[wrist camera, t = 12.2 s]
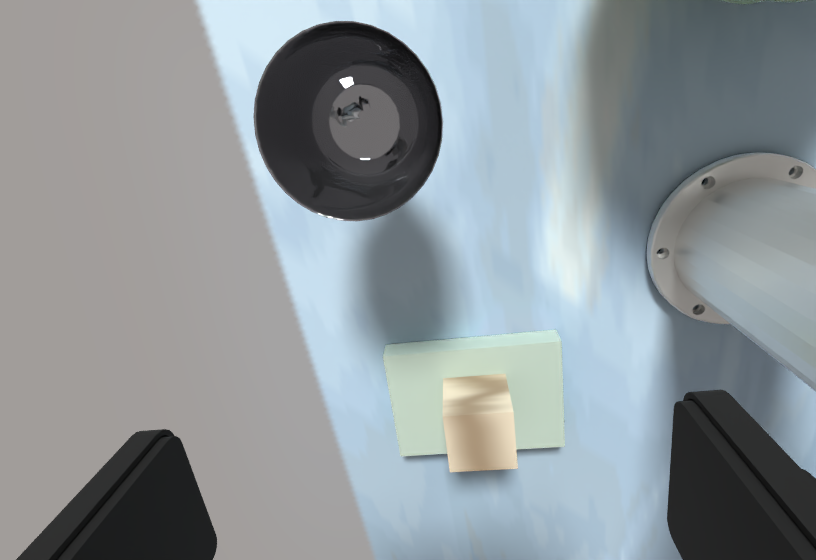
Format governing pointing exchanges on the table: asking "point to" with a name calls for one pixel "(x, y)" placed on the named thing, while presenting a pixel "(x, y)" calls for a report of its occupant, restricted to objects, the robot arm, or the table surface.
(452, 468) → the birch cube
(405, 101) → the wine glass
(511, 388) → the sage board
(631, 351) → the table surface
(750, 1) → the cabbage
